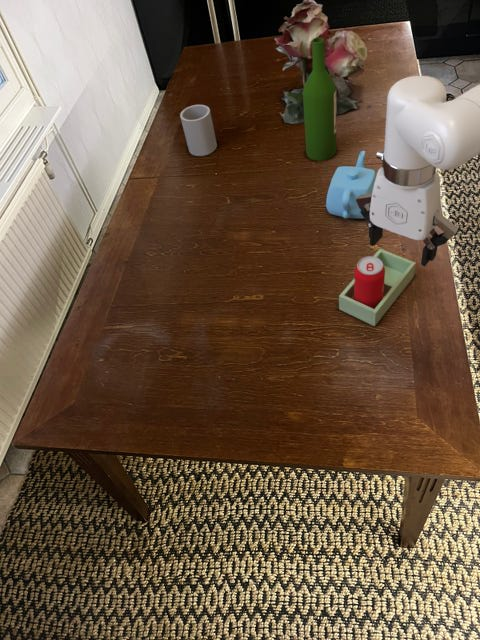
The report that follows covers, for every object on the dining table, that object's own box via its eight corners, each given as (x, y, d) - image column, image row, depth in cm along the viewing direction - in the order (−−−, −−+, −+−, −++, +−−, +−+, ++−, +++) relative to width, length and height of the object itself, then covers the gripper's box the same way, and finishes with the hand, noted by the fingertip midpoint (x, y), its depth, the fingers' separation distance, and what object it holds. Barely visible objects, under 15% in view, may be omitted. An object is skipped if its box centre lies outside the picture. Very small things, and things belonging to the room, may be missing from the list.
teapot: (384, 186, 144) (387, 149, 135) (368, 230, 134) (370, 193, 125) (339, 181, 148) (339, 145, 139) (321, 223, 138) (320, 187, 129)
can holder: (413, 276, 122) (416, 262, 119) (374, 326, 115) (375, 313, 111) (378, 262, 127) (379, 248, 123) (338, 309, 119) (338, 295, 116)
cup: (186, 143, 171) (178, 109, 162) (213, 136, 172) (206, 101, 162) (191, 158, 165) (182, 124, 156) (219, 151, 166) (212, 116, 157)
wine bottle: (339, 157, 155) (340, 43, 130) (309, 163, 155) (304, 51, 130) (332, 141, 161) (331, 29, 136) (303, 147, 161) (296, 36, 136)
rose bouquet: (373, 107, 169) (378, 5, 146) (285, 128, 169) (276, 30, 146) (348, 71, 185) (349, -25, 162) (267, 90, 185) (257, -3, 162)
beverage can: (382, 292, 119) (386, 254, 110) (382, 313, 116) (385, 276, 106) (354, 291, 121) (355, 254, 112) (353, 312, 117) (354, 275, 108)
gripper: (345, 163, 81) (345, 246, 94) (453, 197, 72) (437, 283, 85) (371, 138, 84) (368, 222, 97) (478, 168, 75) (459, 255, 88)
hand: (400, 250), depth 91 cm, fingers open, 9 cm apart
